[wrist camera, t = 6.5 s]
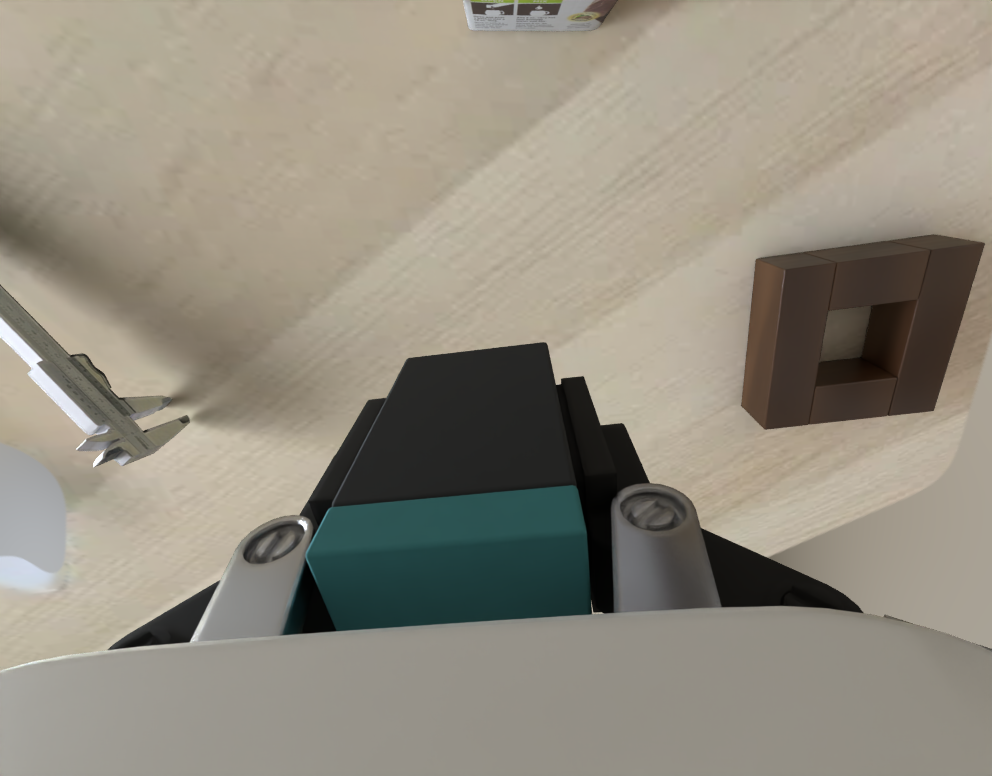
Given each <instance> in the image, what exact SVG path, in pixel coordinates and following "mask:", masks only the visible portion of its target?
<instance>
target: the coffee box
mask: <svg viewBox="0 0 992 776" xmlns="http://www.w3.org/2000/svg"><path fill="white" fill-rule="evenodd" d="M617 1H618V0H463V4H464V8H465V12H466V17H467V22H468V27H469V29H471V30H487V31H590V30H595V29H597V28H598V27H599V26H600V25H601V24H602V23H603V21H604V19H605V18H606V17H607V15H608V14H609V12H610V11H611V9H612V8H613V6H614V5H615V4H616V2H617Z"/></svg>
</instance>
